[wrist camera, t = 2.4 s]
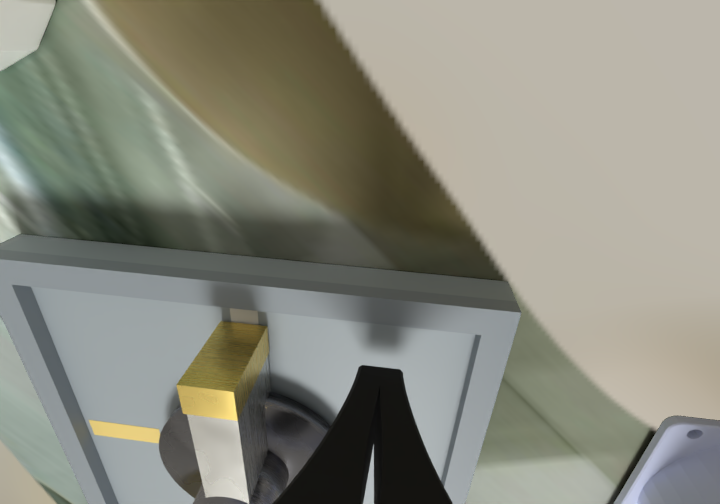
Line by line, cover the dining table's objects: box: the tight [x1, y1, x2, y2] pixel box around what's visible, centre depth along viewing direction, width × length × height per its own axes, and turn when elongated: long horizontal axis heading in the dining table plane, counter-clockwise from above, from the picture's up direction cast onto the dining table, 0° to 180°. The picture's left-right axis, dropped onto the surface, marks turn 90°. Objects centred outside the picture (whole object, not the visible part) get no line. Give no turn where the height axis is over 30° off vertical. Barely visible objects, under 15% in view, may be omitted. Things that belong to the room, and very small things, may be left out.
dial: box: [159, 321, 331, 504], centre depth 15 cm, size 11×8×3 cm
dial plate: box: [0, 234, 521, 504], centre depth 17 cm, size 18×18×2 cm
